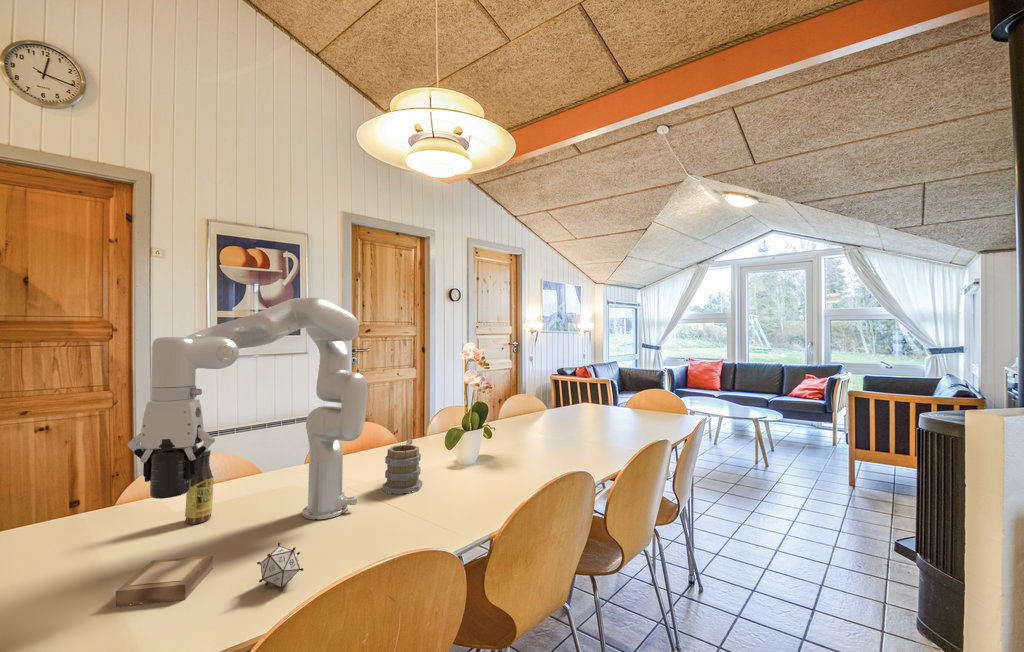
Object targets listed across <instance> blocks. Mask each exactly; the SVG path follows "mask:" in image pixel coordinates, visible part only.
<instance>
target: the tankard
mask: <svg viewBox="0 0 1024 652" xmlns="http://www.w3.org/2000/svg"><path fill="white" fill-rule="evenodd" d="M413 440H414V439H412V437H407V440H406V443H405V444H402V445H401V444H399V445H393V446H390V447H389V448H388V449H387V451H386V452H387V455H386V456H385V457H384V458H385V459H384V460H385V465H386V470H384V473H385V474H384V478H386V482H385V483H384V484H383V485H382V490H383V489H384V490H385V491H384V490H383V491H384V492H386V491H387V492H386V493H388V492H389V493H388V494H390V493H408V494H410V493H409V492H412V491H416V490H421V488H422V486H423V480H421V479H419V478H420V477H419V476H420V475H421V472H422V471H421V468H422V467H420V462H421V458H422V455H421V453H420V447H419V446H417V445H414V444H413ZM420 487H421V488H420ZM416 492H417V491H416ZM412 493H413V492H412Z"/></svg>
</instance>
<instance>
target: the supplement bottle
mask: <svg viewBox="0 0 1024 652" xmlns="http://www.w3.org/2000/svg"><path fill="white" fill-rule="evenodd" d="M172 447H175V445H173V442H171V440H170V439H164V440H163V439H162V444H160V446H159V448H161V449H159V450H157V451H155V452H154V453H153V454H152V456H151V474H150V481H149V483H150V484H149V496H150V497H151V498H153V499H158V500H159V499H161V500H163V499H169V498H176V497H179V496H182V495H185V494H187V492H188V491H189V490H190V487H191V479H189V480H186V479H185V472H186V461H188V460H189V458H188V456H187V454H186V452H185V451H184V449H176V448H172Z"/></svg>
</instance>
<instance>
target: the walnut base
mask: <svg viewBox="0 0 1024 652" xmlns="http://www.w3.org/2000/svg"><path fill="white" fill-rule="evenodd" d="M213 569H214V555H205V556H204V555H203V556H191V557H179V558H167V559H165V558H164V559H155V560H151V561H150V562H149V563H148V564H147V565H145V566H144V567H143V568H142V569H140V571H138V572H137V573H136V574H134V575H133V576H132V577H130V579H129V580H127V581H126V582H125V583H123V585H121V586H119V588H117V589H116V590H115V606H118V607H122V606H121V605H127V606H131V605H130V604H137V605H141V604H140V603H147V604H155V603H154V602H157V603H166V601H167V602H176V600H177V601H185V600H186V599H188V597H189V596H190V595H191V594H192V592H193V591H194V590H195V589H196V588H197V587H198V586H199V585H200V584H201V583H202V581H203V580H204V579H206V577H207V576H208V574H210V572H211V571H212V570H213ZM198 584H199V585H198Z"/></svg>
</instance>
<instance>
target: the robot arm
mask: <svg viewBox="0 0 1024 652" xmlns="http://www.w3.org/2000/svg"><path fill="white" fill-rule="evenodd" d="M300 329H301V330H302V329H305V331H306V333H307V335H308V336H309V338H310V339H311V340H312V341H313V343H314V345H316V347H317V350H318V353H319V364H318V371H317V372H318V373H317V380H316V388H315V389H316V390H315V392H316V396H317V398H318V399H319V400H321V401H323V402H326V403H327V402H328V403H338V404H341V405H340V407H339V406H338V407H337V406H329V405H328V406H327V405H326V406H325V405H324V406H320V407H319V406H318V407H316V408H314V409H313V410H311V411H310V412H309V414H308V415H307V417H306V419H305V420H306V421H305V429H306V435H307V440H308V486H307V488H308V491H307V492H308V493H307V494H308V495H307V497H308V498H307V506H305V507H304V508H303V509H302V511H301V515H302V516H303V518H305V519H308V520H315V519H317V520H326V519H331V518H332V519H333V518H335V516H336V517H338V516H341V515H342V514H344V513H346V511H347V510H348V506H357V505H358V497H356V498H355V496H345V492H344V491H343V472H344V471H343V470H344V469H343V466H344V449H343V445H342V442H351V441H352V442H353V441H356V439H358V438H359V437H360V436H361V435H362V433H363V430H364V426H365V423H366V421H365V420H366V413H367V404H368V398H369V397H368V396H369V385H368V381H367V379H366V377H365V376H364V375H363V374H361V373H359V372H356V371H349V366H350V365H349V364H350V353H349V349H348V347H347V345H346V344H345V342H350V341H353V340H354V339H356V338H357V336H358V334H359V332H360V323H359V321H358V319H357V317H356V316H355V315H354V314H353V313H351V312H349V311H348V310H346V309H343V308H342V307H340V306H338V305H336V304H335V303H332V302H330V301H328V300H326V299H324V298H321V297H316V296H313V297H295V298H291V299H287V300H284V301H282V302H279V303H277V304H275V305H273V306H270V307H268V308H265V309H263V310H259V311H258V312H255V313H253V314H252V313H251V314H249V315H246V316H241V317H238V318H236V319H233V320H230V321H226V322H222V323H220V324H219V323H218V324H215V325H213V326H210V327H207V328H205V329H204V328H203V329H202V330H199V331H196V332H194V333H191V334H190V335H187V336H163V337H162V336H160V337H157V338H155V339H154V340H153V342H152V347H151V372H150V373H151V376H150V400H149V401H147V404H146V406H145V408H144V412H143V417H142V423H141V429H140V433H139V434H137V435H136V436H134V437H133V438H132V439H131V440H130V441H128V442H127V443H126V446H127V447H128V448H129V449H130V450H131V451H132V452H133V454H134V455H135V456H136V457H137V458H138V459H140V462H141V463H142V464H143V469H142V470H143V473H142V474H143V477H144V482H145V483H150V474H151V456H152V454H153V453H154V452H155V451H157V450H159V449H161V448H159V446H160V444H162V439H163V440H164V439H170V440H171V442H173V445H175V447H172V448H176V449H184V451H185V452H186V454H187V456H188V458H189V460H188V461H186V472H185V479H186V480H189V479H191V478H193V477H194V476H196V474H197V473H198V461H199V457H200V456H201V455H202V454H203V453H204V452H205V451H206V450H207V449H210V447H211V446H212V445H213V444H214V443H215V441H216V438H214V437H213V436H211V435H210V434H209V433H208V432H207V431H205V429H204V428H205V427H204V418H203V417H204V416H203V409H202V404H201V401H200V399H199V398H197V396H201V395H202V394H203V390H202V388H197V385H196V372H197V369H205V370H221V369H224V368H225V369H226V368H227V367H230V366H232V365H233V364H235V362H236V361H237V360H238V357H239V355H240V350H241V349H247V348H255V347H262V346H265V345H269V344H272V343H274V342H276V341H278V340H280V339H282V338H284V337H286V336H288V335H290V334H292V333H294V332H296V331H299V330H300ZM341 441H342V442H341ZM202 442H203V443H202ZM200 443H202V445H201V446H200V447H199V446H198V444H200Z"/></svg>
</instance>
